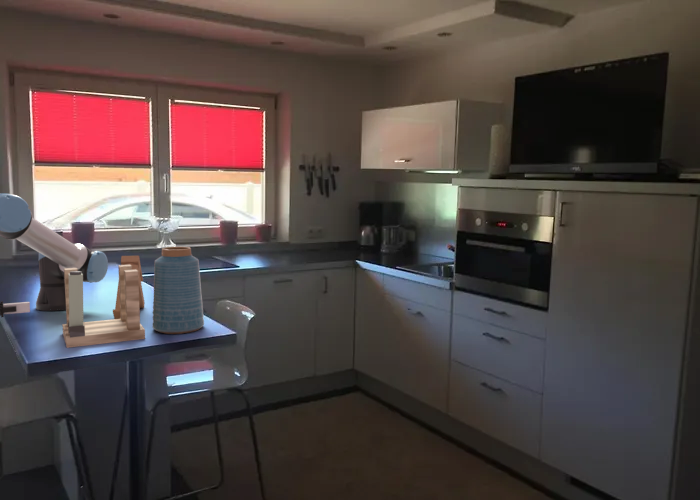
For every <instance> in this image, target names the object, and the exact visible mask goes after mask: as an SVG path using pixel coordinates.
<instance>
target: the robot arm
mask: <svg viewBox="0 0 700 500" xmlns="http://www.w3.org/2000/svg"><path fill="white" fill-rule="evenodd" d="M29 207H30V206H29V204H28V202H27V201H26V200H25V199H23V197H21V196H18V195H16V194H11V193H4V192H3V193H2V192H1V193H0V237H2V238H4V239H5V240H9V241H14V240H17V241H18V242H20V243H22V244H23V245H26V246H27V247H29V248H31V249H32V250H34V251H36V252H37V253H38V261H37V262H38V270H39V271H38V272H39V274H38V275H39V284H40V285H39V287H40V288H39V292H38V295H37V298H36V302H35V309H36V310H38V311H43V312H55V311H59V312H60V311H66V298H65V278H64V268H77V269H78V271H81V272H82V274H83V283H92V284H93V283H100V282H101V281H102V280H103V279H104V278H105V277H106V275H107V273H108V269H109V261H108V257H107V255H106V253H105V252H104V251H101V250H100V251H99V250H92V249H89V247H87V246H85V245H84V244H81V243H73V242H71V241H70V240H68V239H66V238H64V236H62V235H60V234H59V233H57V232H56V231H54V230H53V229H51V228H50V227H48V226H46V225H45V224H44V223H42V222H40V221H38V220H37V219H35V218H34V217H33V213H32V211H31V209H30V208H29ZM30 305H31V304H30V301H23V302H22V301H21V302H10V303H9V302H8V303H4V302H3V301H2V300H1V301H0V317H1V318H4V316H5V315H11V314H12V315H13V314H23V313H30V312H31V308H30V307H31V306H30Z"/></svg>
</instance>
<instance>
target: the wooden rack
mask: <svg viewBox="0 0 700 500" xmlns="http://www.w3.org/2000/svg"><path fill="white" fill-rule="evenodd" d="M71 271H78V269H77V268H64V278H65V298H66V310H65V311H66V313H65V314H66V315H65V316H66V323H62V335H63V340H64V343H65V346H66V348H67V349H68V348H76V347H84V346H93V345H104V344H112V343H120V342H121V343H122V342H129V341H136V340H145V339H146V329H145V327H144V326H143V325H142V324H141V317H140V316H141V315H140V313H141V312H140V309H141V308H139V281H138V271H137V270H132V266H131V265H121V264H118V282H119V295H120V319H114V318H113V319H105V320H104V319H103V320H102V319H101V320H94V321H83V325H81V326H71V327H69V274H70V272H71Z"/></svg>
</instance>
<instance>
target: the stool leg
mask: <svg viewBox="0 0 700 500" xmlns="http://www.w3.org/2000/svg"><path fill="white" fill-rule="evenodd" d="M83 322H84V282H83V274H82V272H81V271H71V272H70V274H69V327H71V326H81V325H83Z"/></svg>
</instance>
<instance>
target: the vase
mask: <svg viewBox="0 0 700 500" xmlns="http://www.w3.org/2000/svg"><path fill="white" fill-rule="evenodd" d="M199 260H200V259H198V257H195V256H193V254H192V248H191V247H190V246H166V247H162V248H161V256H159V257H158V258H156V259H154V263H153V264H154V270H153V271H154V273H153V302H152V304H153V305H152V329H153V330H154V331H156V332H158V333H161V334H167V335H182V334H189V333H194V332H196V331H198V330H200V329H201V328H202V327H204V325H205V320H204V309H203V308H204V307H203V305H204V304H203V297H202V285H201V272H200V261H199Z"/></svg>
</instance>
